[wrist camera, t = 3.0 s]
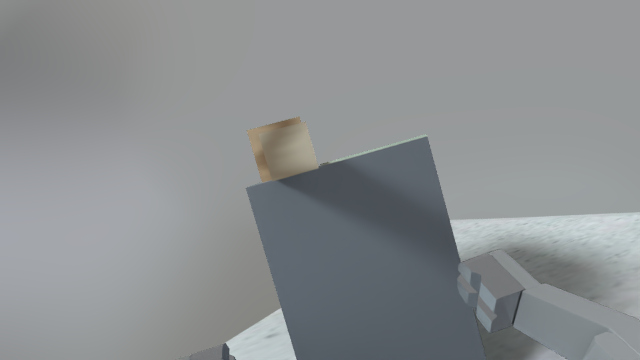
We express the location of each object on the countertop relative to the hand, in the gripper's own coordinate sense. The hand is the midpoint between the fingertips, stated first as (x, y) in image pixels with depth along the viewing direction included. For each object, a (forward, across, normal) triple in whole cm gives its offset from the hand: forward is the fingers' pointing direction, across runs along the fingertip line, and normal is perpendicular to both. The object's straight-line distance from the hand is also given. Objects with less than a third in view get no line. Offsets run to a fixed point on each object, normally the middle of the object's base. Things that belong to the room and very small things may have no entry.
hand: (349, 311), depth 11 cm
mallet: (+21, 0, +6) cm, 22 cm away
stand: (+13, -4, +31) cm, 34 cm away
